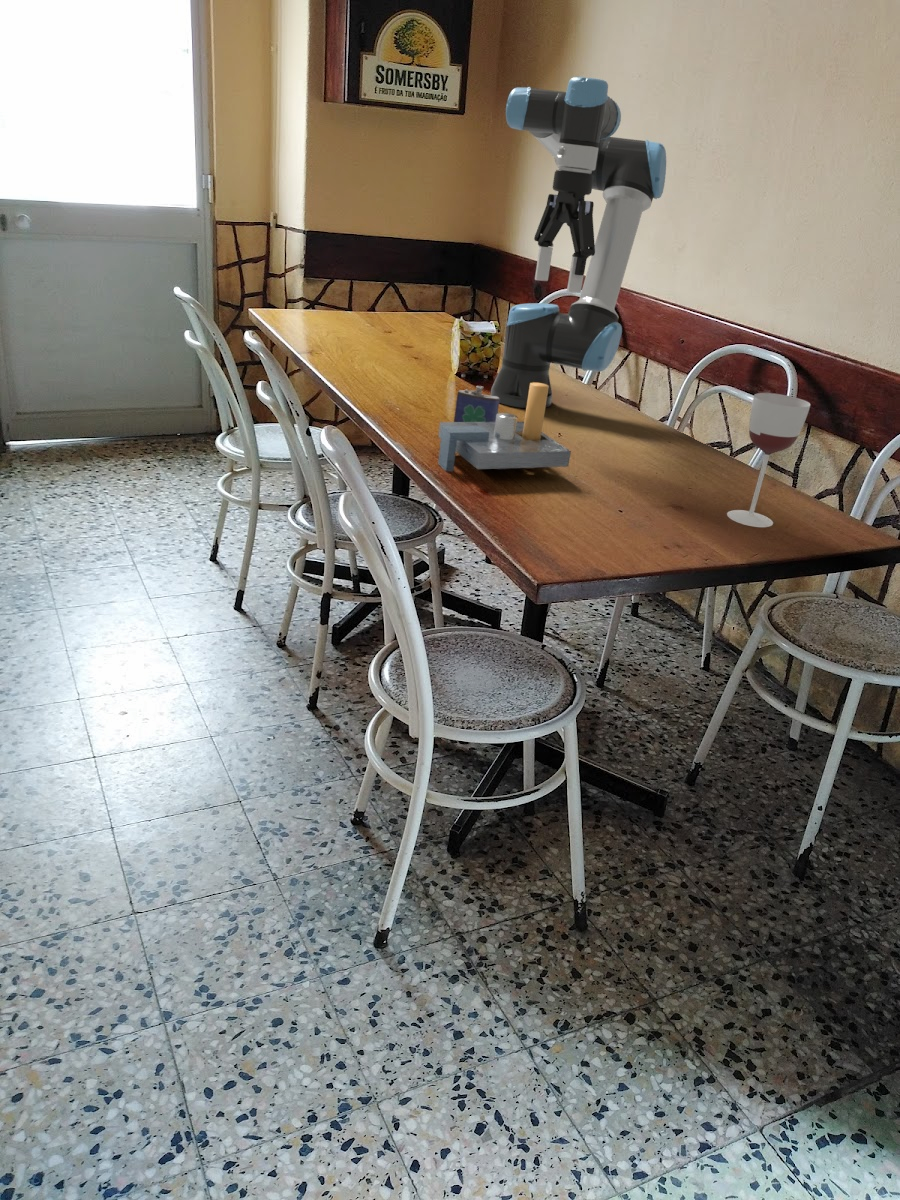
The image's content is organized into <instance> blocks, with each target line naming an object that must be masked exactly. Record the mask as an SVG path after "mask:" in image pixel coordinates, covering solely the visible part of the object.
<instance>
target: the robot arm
mask: <svg viewBox="0 0 900 1200" xmlns="http://www.w3.org/2000/svg"><path fill="white" fill-rule="evenodd" d="M608 91H609V84H608V81H606V80H603V79H601V78H594V77H593V78H592V77H584V76H574V77H571V78H570V79H569V81H568V84H567V88H566V91H561V90H551V89H543V88H534V87H531V86H528V87H515V88H513V89H512V90H511V91H510V93H509V95H508V98H507V101H506V107H505V119H506V123H507V126H508V127H509V128H510V129H514V130H518V131H526V132H529V133H530V134H531V135H532V136H533V137H534V138H535V139H536V140H537V141H538V142H539V143H540V145H542V146H543V147H544V149H546V150H547V152H549V153H550V154H551V156H553V157H554V158H553V159H554V162H555V165H556V167H557V168H558V169H555V171H554V174H553V181H552V189H553V191H555V192H557V194H555V193H554V194H552V193H549V194H548V196H547V199H546V204H545V208H544V211H543V214H542V217H540V218H541V219H540V222H539V224H538V227H537V230H536V232H535V234H534V239H533V240H534V242H537V245H538V247H539V249H538V254H537V262H536V268H535V275H534V280H535V281H542V282H548V281H549V277H550V271H551V270H550V268H551V263H552V257H553V256H552V255H553V247H554V243H553V242H554V241H555V239H556V238H557V235H558V234H559V232H560V230H561V229H562V227H563V226H564V225H565V224H566V226H568V227H569V231H570V235H571V240H572V245H573V249H574V253H573V254H572V256H571V261H570V262H571V263H570V269H569V276H568V282H567V288H566V292H567V293H576V294H577V293H578V294H579V299H578V300H576V301H575V302H573V303H571V305H570V307H569V310H568V313H562V312H560V307H559V305H558V304H554V303H541V302H540V303H537V302H535V303H534V302H533V303H529V302H528V303H520V304H516V305H513V306H512V307H510V309H509V312H508V317H507V322H506V328H505V329H506V330H505V338H504V344H503V345H504V346H503V354H502V361H501V367H500V369H499V370H498V373H497V375H496V377H495V380H494V382H493V384H492V386H491V389H490V396H497V397H499V398H500V402H499V404H502V405H506V406H509V407H514V408H521V409H526V407H527V400H528V394H529V387H530V383H543V384H546V385H548V386H549V388H548V394H547V401H546V407H545V409H546V408H548V407H550V406H551V405H552V400H553V392H552V384H551V379H550V369H551V368H550V366H551V364H554V365H558V366H559V365H560V366H564V367H569V368H575V369H580V370H583V371H591V372H603V371H605V370H606V369H607V368H608V367H609V366H610V365H611V363H612V361H613V360H614V358H615V355H616V354H617V352H618V349H619V345H620V342H621V338H622V333H623V327H622V324H621V323H619V315H618V313H617V312H616V310H615V308H616V305H617V302H618V298H619V294H620V291H621V288H622V287H621V286H622V284H623V281H624V276H625V273H626V270H627V266H628V263H629V259H630V257H631V256H630V255H631V253H632V249H633V245H634V242H635V238H636V235H637V231H638V229H639V224H640V221H641V217H642V214H643V212H645V211H647V210H648V209H650V208H651V205H652V203H653V199H655V200H657V199H660V198H661V197H662V196H663V193H664V190H665V189H664V188H665V183H666V174H667V173H666V172H667V152H666V148H665V146H664V144H662V143H661V142H655V141H649V140H648V139H645V140H640V139H633V138H631V139H630V138H624V137H615V136H613V135H614V134H615V133H616V132H617V130H618V129H619V128H620V127H619V126H620V125H621V122H622V113H621V108H620V107H619V105H618V104H617V102H616V101H615V100H613V98H612V97H610V96H608V93H609V92H608ZM592 190H596V191H601V192H602V197H603V199H604V202H605V203H606V204H605V208H604V212H603V215H602V219H601V221H600V226H599V229H598V231H597V236H596V240H595V233H594V229H595V228H594V218H593V217H594V215H593V214H594V206H595V205H594V202H593V201H589V200H585V196H586V195H587V196H589V195H591V194H592ZM590 256H591V257H590ZM589 257H590V260H589V264H588V267H587V271H585V269H586V265H587V259H588V258H589ZM585 272H586V274H585ZM584 275H585V278H584Z"/></svg>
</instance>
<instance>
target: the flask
mask: <svg viewBox="0 0 900 1200" xmlns="http://www.w3.org/2000/svg"><path fill="white" fill-rule="evenodd" d="M483 389H484V386H482V385H476V386H475V390H472V389H469V388H466V389H464V390H463V389H462V390H461V389H460V390H458V392H457V394H456V402H455V410H454V416H453V417H454V419H453V422H495V421H496V414H498V413H499V407H500V403H499V402H500V398H499V397H497V396H491V394H490V395H488V394H483V391H482V390H483Z"/></svg>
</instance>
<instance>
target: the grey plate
mask: <svg viewBox="0 0 900 1200" xmlns="http://www.w3.org/2000/svg"><path fill="white" fill-rule="evenodd" d="M523 427H524V421H518V416H517V415H515V414H512V413H508V412H507V413H506V412H500V413H499V412H498V414H496V421H495V422H454V421H440V422H439V427H438V438H439V439H440V443H439V444H440V445H439V452H438V462H437V464H439V465H440V468H442V469H443V470H444V471H445V472H454V467H455V462H456V461H455V460H456V453H457V454H458V455H460V456H461V457H462V458H463V459H465V460H466V461H467V463H469V464H471V465H472V466H473V467H474V468H476V470H492V469H495V470H501V471H502V470H504V471H505V470H509V469H534V468H533V467H535V468H558V467H559V468H562V467H563V468H564V467H566V468H567V467H569V465H570V460H571V459H570V458H571V454H572V450H570V449H568V448H567V447H565V446H564V445H562V444H561V443H559V442H558V441H556V440H555V439H553V438H552V437H550V436H548V435H547V434H546V433H544V432H541V438H540V440H525V439H524V438H522V434H523ZM439 465H438V466H439Z"/></svg>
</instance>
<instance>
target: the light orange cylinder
mask: <svg viewBox="0 0 900 1200" xmlns="http://www.w3.org/2000/svg"><path fill="white" fill-rule="evenodd" d="M548 388H549V386H548V385H546V384H543V383H530V387H529V394H528V400H527V407H526V408H525V414H524V420H523V422H524V427H523V434H522V438H524V439H525V440H540V438H541V432H542V431H543V425H544V419H545V413H546V408H547V407H546V401H547V394H548ZM545 407H546V408H545ZM542 433H543V432H542ZM535 468H536V467H533V468H532V469H535Z"/></svg>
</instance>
